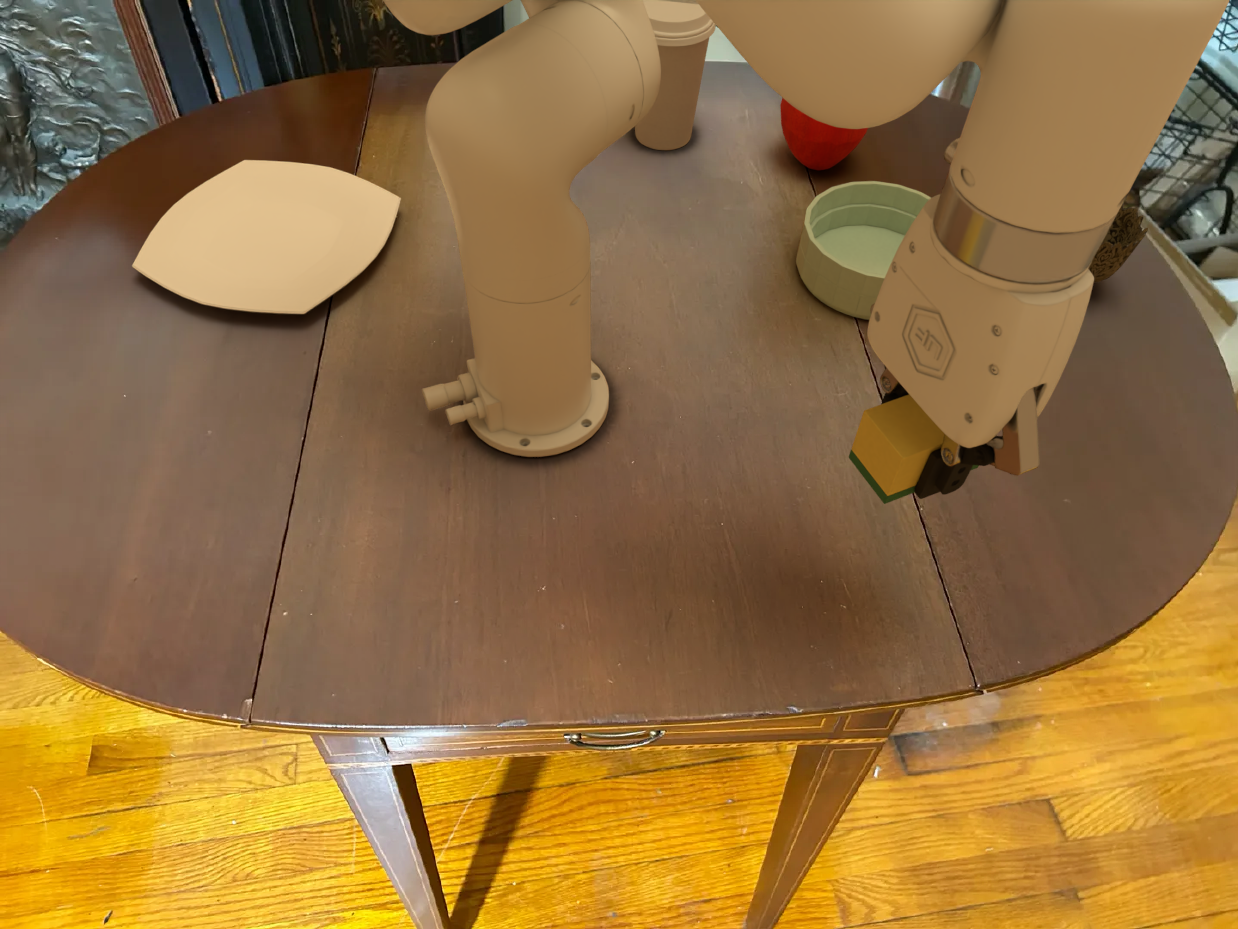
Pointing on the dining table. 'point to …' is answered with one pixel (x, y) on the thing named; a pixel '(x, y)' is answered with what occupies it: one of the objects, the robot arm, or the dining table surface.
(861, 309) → the bowl
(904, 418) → the sponge
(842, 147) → the apple
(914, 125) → the dining table surface
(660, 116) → the coffee cup
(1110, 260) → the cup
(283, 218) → the plate
